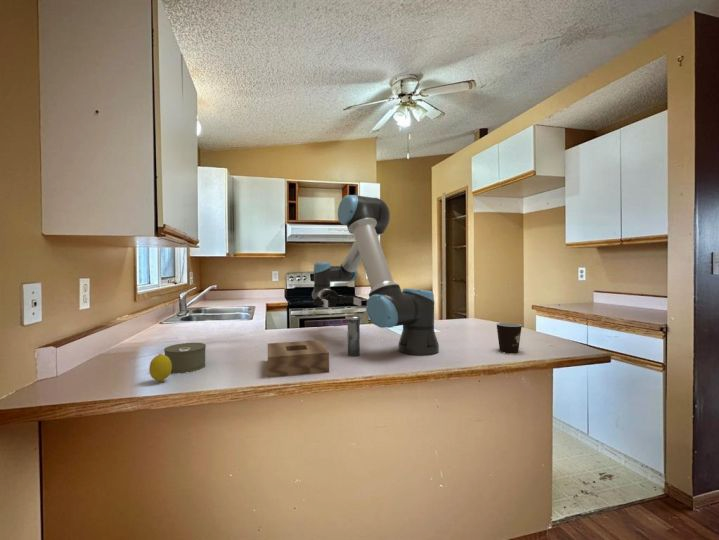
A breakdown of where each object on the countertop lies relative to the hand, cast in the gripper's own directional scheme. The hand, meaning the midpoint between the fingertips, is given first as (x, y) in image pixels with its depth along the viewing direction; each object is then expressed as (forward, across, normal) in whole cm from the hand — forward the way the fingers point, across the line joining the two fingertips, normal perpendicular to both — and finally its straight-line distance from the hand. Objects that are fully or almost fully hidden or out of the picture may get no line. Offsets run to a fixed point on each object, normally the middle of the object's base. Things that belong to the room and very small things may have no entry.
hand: (344, 303), depth 137 cm
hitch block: (+16, +22, -18) cm, 32 cm away
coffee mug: (+29, -56, -17) cm, 65 cm away
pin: (+10, 0, -18) cm, 20 cm away
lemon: (+16, +60, -18) cm, 65 cm away
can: (+4, +55, -18) cm, 58 cm away
